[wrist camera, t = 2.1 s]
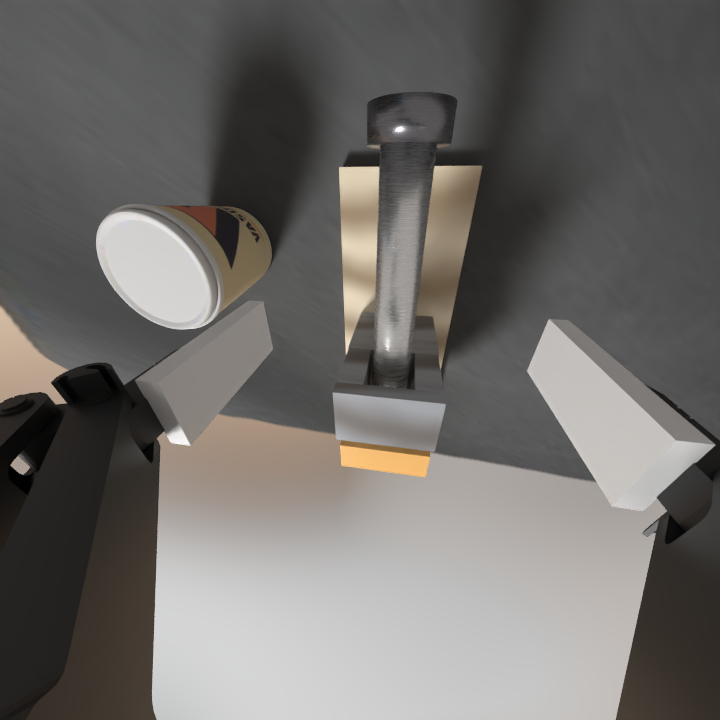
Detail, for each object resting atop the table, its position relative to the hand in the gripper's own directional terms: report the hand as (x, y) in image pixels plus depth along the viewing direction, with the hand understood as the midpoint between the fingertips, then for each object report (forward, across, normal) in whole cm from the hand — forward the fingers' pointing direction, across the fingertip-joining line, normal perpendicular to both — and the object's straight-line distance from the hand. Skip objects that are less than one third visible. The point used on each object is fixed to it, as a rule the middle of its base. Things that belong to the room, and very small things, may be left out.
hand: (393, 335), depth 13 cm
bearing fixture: (+18, 0, -8) cm, 20 cm away
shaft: (+9, 0, -4) cm, 10 cm away
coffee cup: (+18, -18, 0) cm, 26 cm away
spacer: (+12, 0, -15) cm, 19 cm away
